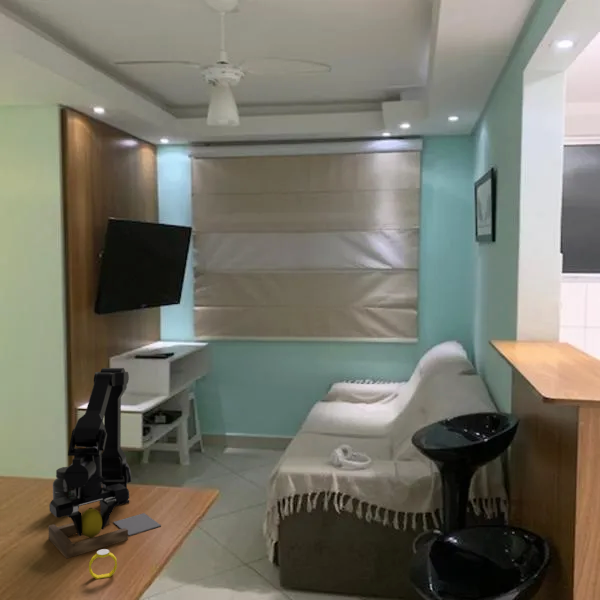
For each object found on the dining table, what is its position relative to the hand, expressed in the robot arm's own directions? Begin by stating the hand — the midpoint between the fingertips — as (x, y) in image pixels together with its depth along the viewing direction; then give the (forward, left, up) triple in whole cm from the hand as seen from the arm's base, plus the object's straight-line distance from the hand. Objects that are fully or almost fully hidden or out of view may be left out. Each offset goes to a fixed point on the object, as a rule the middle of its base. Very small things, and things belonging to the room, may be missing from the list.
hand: (91, 532), depth 157 cm
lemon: (0, 0, -2) cm, 2 cm away
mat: (-13, 0, -2) cm, 13 cm away
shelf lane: (0, 0, -2) cm, 2 cm away
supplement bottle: (-1, -21, -2) cm, 21 cm away
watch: (+5, +20, -2) cm, 21 cm away
